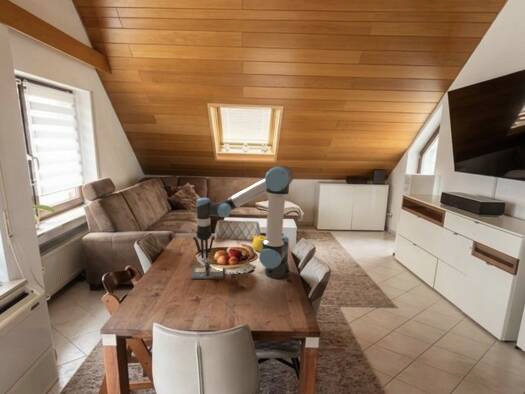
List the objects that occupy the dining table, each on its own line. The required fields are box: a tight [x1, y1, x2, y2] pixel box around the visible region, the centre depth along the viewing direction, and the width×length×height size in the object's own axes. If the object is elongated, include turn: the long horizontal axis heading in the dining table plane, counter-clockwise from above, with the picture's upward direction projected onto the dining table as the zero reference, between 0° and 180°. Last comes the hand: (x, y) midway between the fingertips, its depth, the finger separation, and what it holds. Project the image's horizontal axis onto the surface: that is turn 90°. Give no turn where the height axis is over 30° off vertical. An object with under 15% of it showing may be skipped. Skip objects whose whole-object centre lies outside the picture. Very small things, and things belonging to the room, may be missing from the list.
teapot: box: [251, 235, 266, 254], centre depth 218 cm, size 18×11×11 cm, turn 41°
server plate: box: [190, 265, 224, 280], centre depth 180 cm, size 18×14×6 cm
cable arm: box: [196, 256, 211, 268], centre depth 178 cm, size 3×14×2 cm, turn 36°
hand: (205, 263), depth 181 cm, fingers closed
